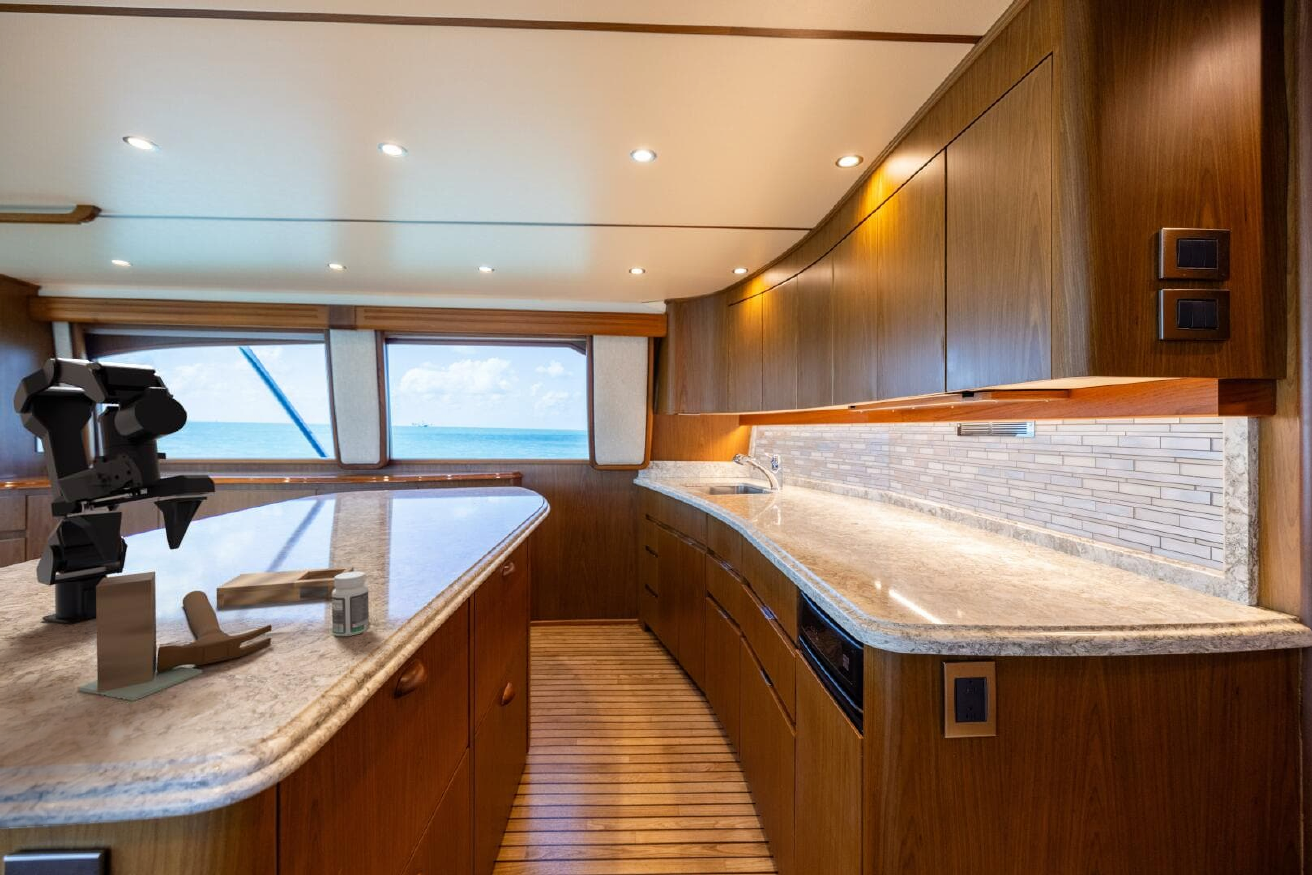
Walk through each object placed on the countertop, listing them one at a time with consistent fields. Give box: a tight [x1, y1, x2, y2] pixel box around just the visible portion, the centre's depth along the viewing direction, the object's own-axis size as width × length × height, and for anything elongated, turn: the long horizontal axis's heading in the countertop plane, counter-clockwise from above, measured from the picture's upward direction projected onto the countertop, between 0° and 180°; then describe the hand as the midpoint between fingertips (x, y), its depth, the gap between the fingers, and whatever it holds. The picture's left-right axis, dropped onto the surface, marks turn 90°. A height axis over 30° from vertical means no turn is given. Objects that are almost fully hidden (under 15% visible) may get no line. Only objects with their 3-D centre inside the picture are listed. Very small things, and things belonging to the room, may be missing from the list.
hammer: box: [156, 590, 273, 672], centre depth 79 cm, size 12×3×30 cm
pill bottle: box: [331, 571, 370, 637], centre depth 79 cm, size 5×5×8 cm
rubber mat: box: [77, 666, 203, 702], centre depth 64 cm, size 9×7×1 cm
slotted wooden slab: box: [216, 566, 355, 608], centre depth 94 cm, size 18×9×4 cm, turn 107°
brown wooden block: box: [96, 571, 157, 693], centre depth 63 cm, size 4×4×12 cm
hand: (142, 554), depth 77 cm, fingers open, 9 cm apart
